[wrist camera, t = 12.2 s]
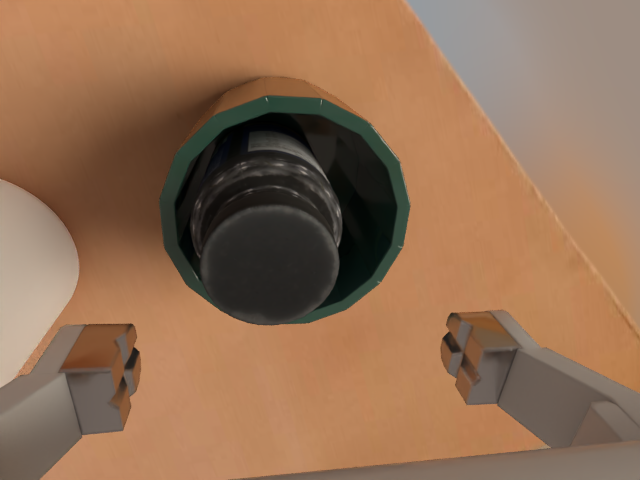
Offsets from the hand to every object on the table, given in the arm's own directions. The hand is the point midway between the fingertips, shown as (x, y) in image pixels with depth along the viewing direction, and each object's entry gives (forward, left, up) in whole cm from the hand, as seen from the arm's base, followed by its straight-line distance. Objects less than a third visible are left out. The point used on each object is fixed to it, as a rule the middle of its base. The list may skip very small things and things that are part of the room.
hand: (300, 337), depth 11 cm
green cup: (0, 0, -15) cm, 15 cm away
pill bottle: (-1, 0, -15) cm, 15 cm away
